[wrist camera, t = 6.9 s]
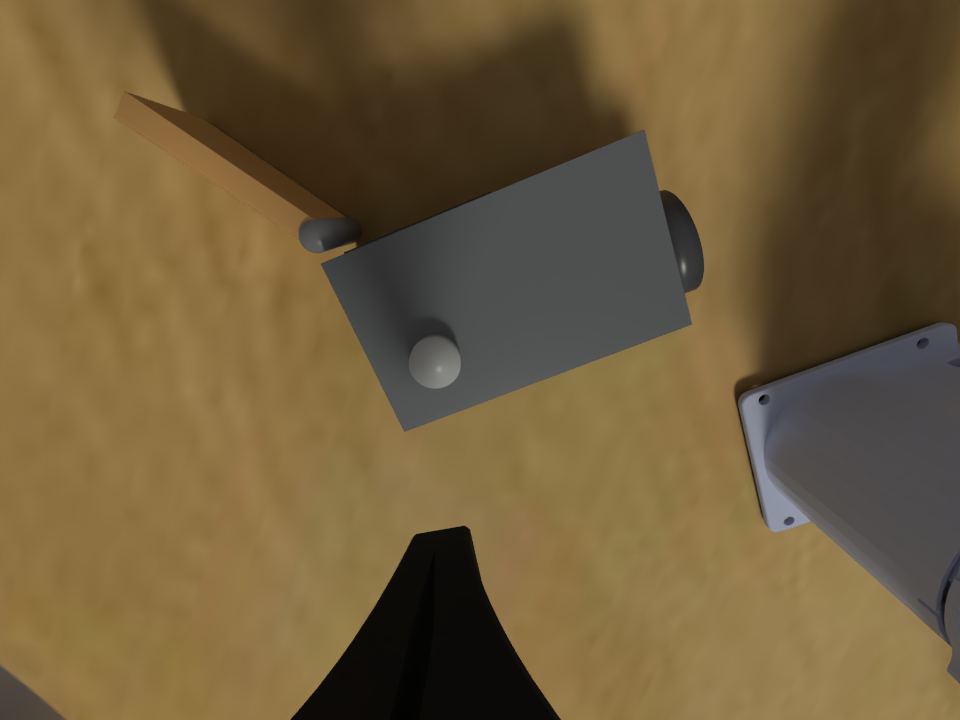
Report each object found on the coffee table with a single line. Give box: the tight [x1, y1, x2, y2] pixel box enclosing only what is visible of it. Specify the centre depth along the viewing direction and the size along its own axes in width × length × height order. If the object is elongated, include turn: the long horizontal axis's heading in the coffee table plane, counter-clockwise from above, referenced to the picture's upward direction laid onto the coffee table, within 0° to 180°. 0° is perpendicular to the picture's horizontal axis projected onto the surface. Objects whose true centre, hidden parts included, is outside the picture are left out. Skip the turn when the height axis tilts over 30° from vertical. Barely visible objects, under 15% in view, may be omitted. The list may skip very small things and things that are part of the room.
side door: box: [114, 92, 361, 253], centre depth 15 cm, size 7×1×4 cm, turn 55°
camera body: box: [321, 130, 704, 432], centre depth 16 cm, size 11×6×6 cm, turn 111°
